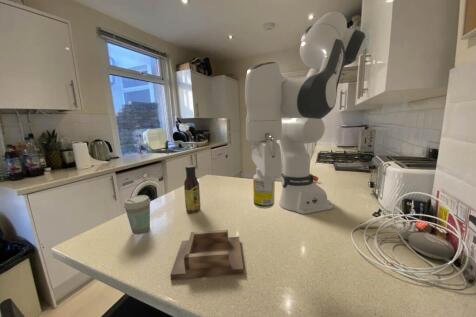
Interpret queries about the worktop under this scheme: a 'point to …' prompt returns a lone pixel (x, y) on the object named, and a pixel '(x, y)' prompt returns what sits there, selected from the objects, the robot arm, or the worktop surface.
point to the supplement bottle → (262, 192)
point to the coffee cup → (138, 213)
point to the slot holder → (208, 256)
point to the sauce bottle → (191, 191)
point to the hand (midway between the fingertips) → (264, 185)
